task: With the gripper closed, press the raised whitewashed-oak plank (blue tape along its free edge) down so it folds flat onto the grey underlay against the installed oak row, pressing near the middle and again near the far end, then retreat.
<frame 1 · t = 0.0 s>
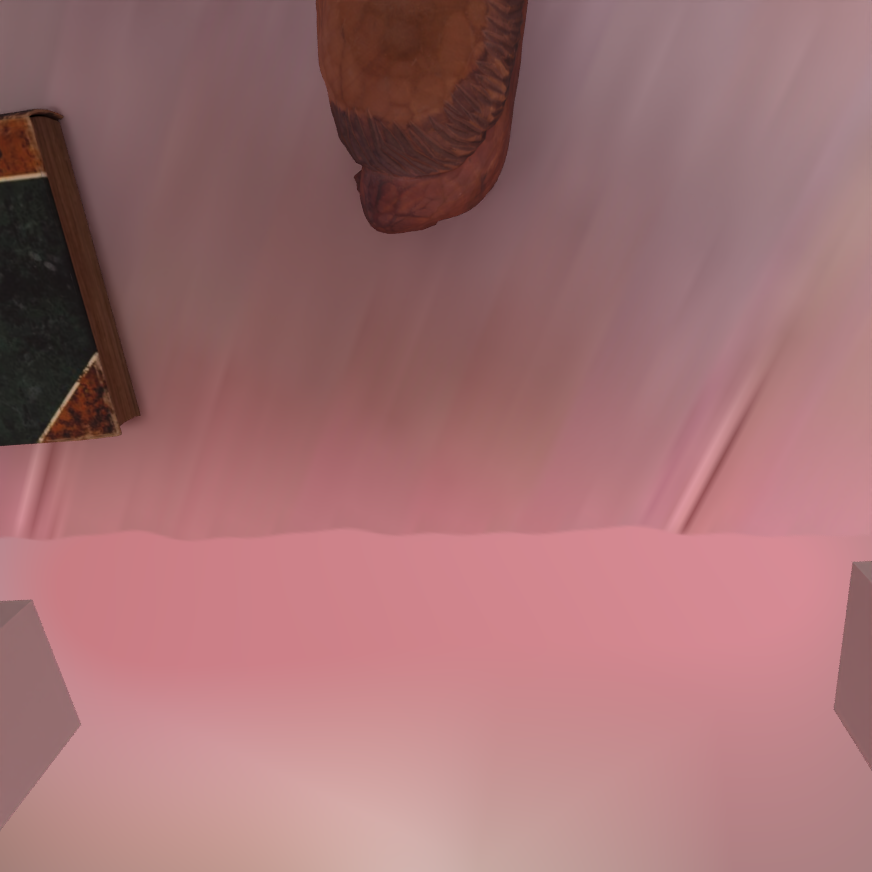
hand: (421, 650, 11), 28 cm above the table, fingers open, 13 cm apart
wooden figurine: (450, 91, 33), on the table
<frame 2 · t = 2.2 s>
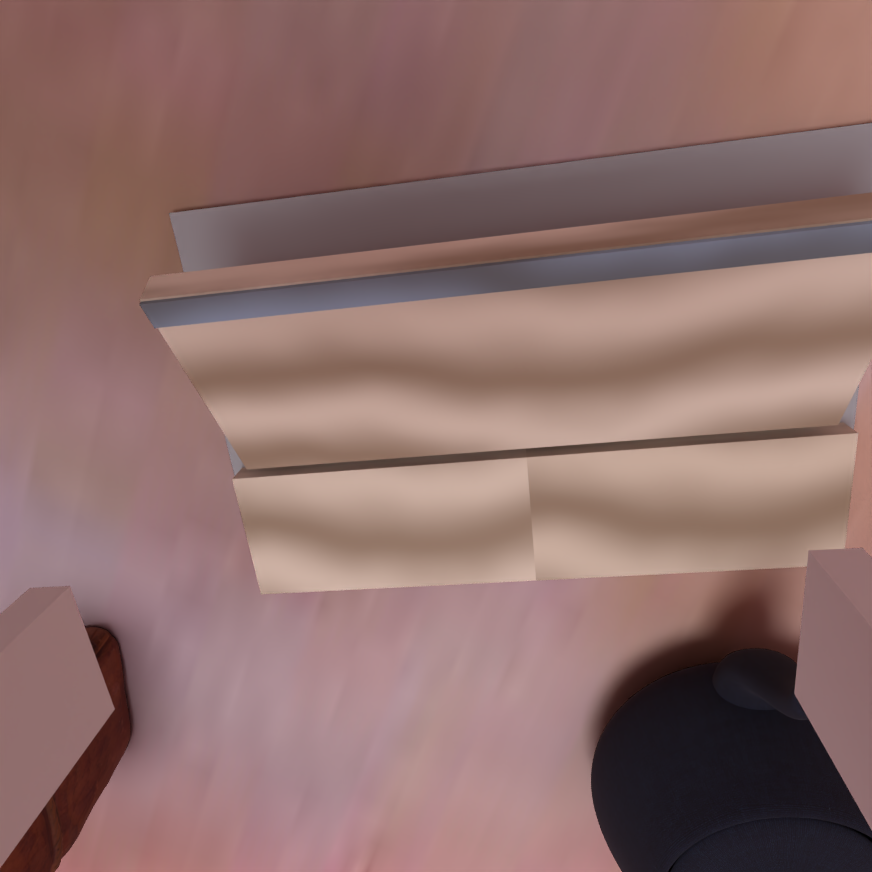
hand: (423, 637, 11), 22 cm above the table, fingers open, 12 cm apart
underlay: (521, 387, 33), on the table
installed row: (530, 504, 35), resting on underlay
plank: (519, 357, 28), point 4 cm above the table, hinge at 30.0°
teapot: (716, 723, 39), on the table
wooden figurine: (91, 690, 43), on the table
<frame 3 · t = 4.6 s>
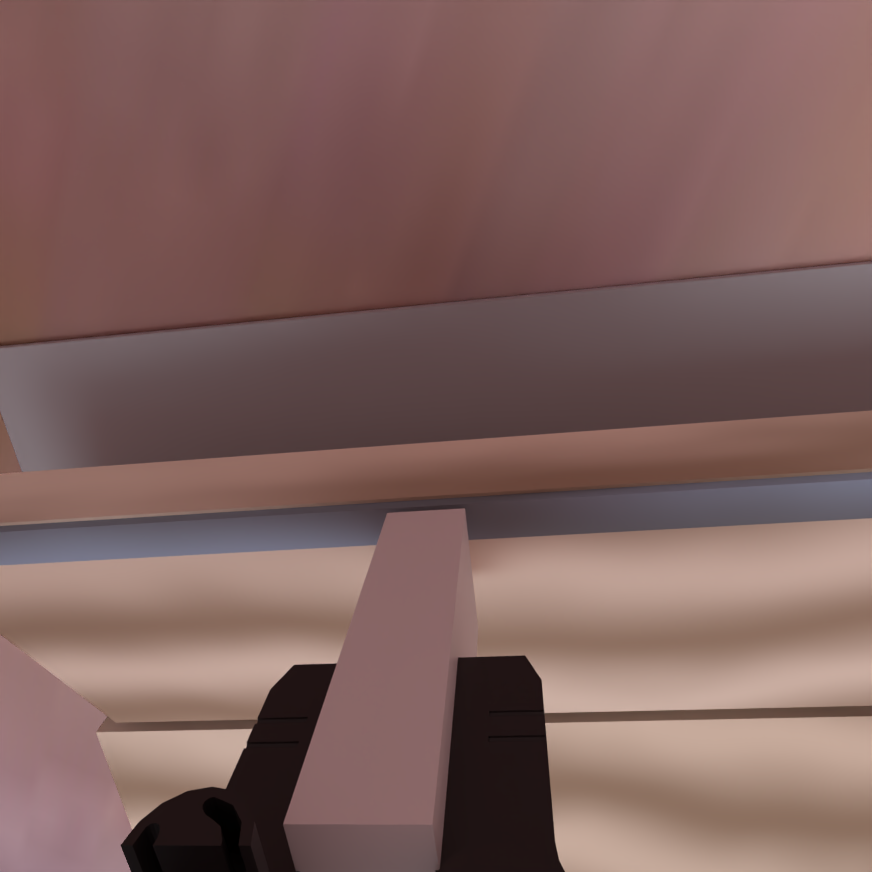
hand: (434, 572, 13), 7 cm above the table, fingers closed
underlay: (532, 607, 21), on the table
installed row: (543, 761, 24), resting on underlay
plank: (533, 605, 17), point 4 cm above the table, hinge at 25.8°, touching gripper
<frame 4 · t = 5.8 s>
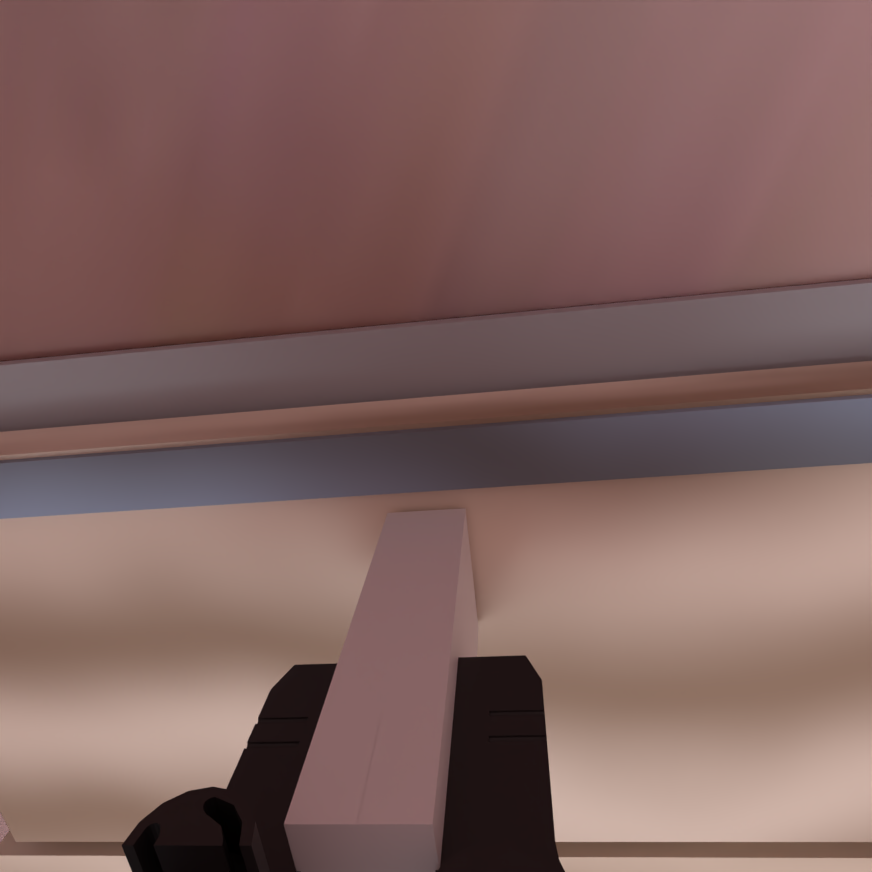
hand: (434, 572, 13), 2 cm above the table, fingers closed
underlay: (538, 705, 17), on the table
plank: (534, 641, 14), point 1 cm above the table, hinge at 1.6°, touching gripper
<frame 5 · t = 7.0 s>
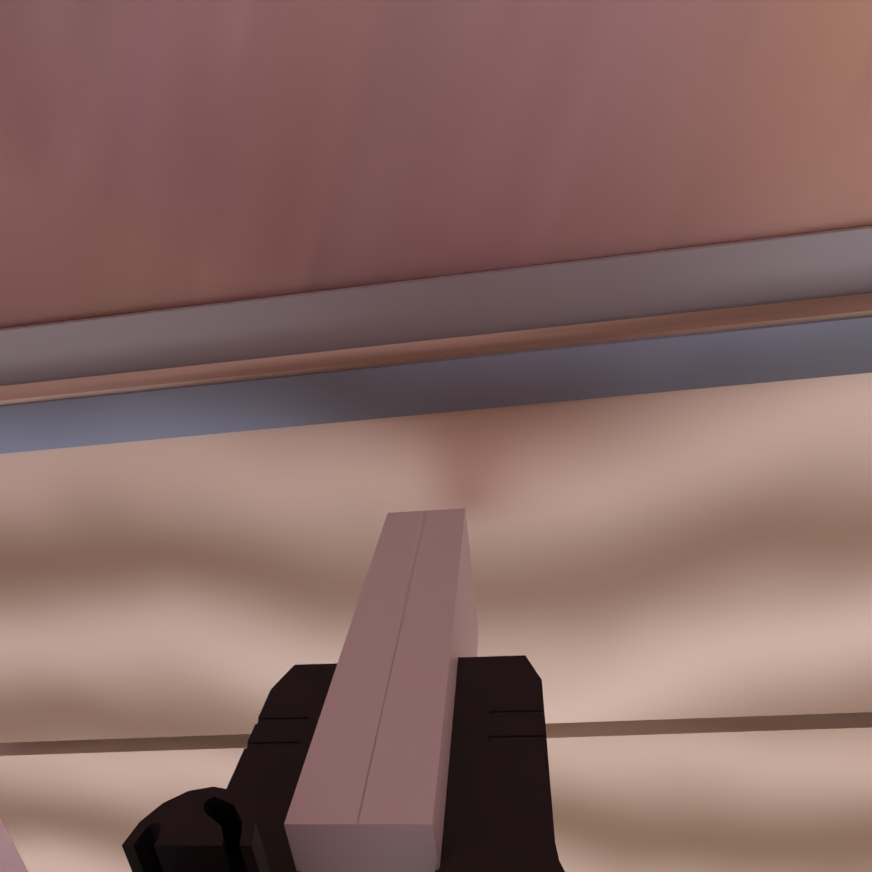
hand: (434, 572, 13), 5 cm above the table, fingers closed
underlay: (425, 618, 20), on the table
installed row: (451, 777, 22), resting on underlay
plank: (405, 554, 18), point 1 cm above the table, hinge at 1.5°
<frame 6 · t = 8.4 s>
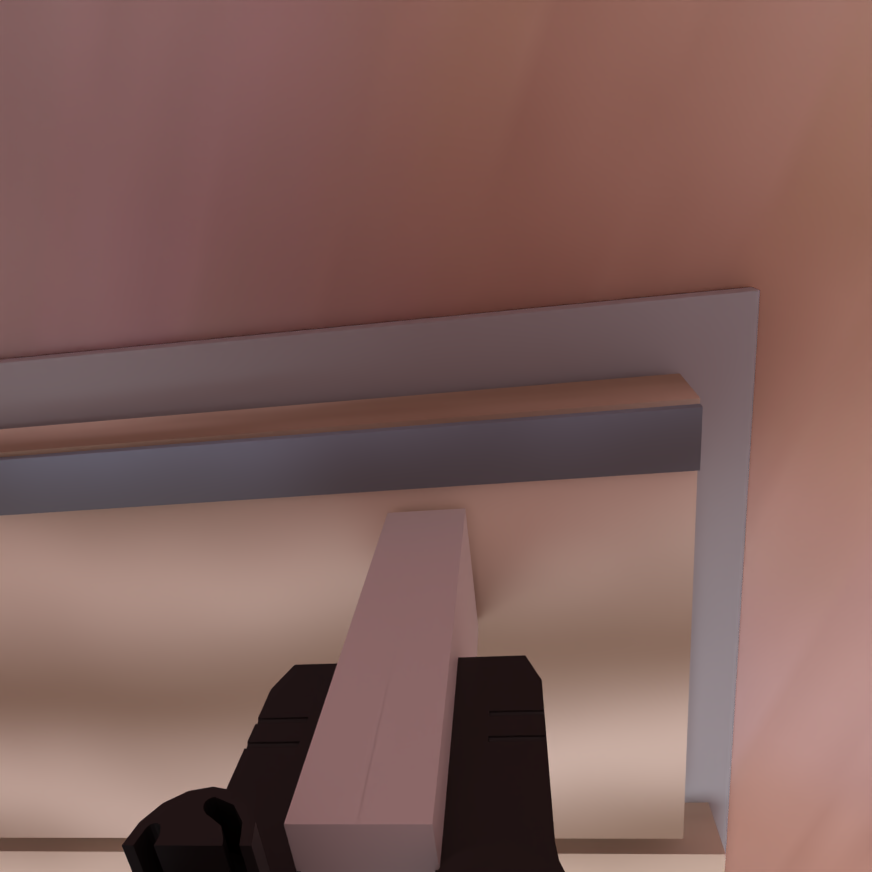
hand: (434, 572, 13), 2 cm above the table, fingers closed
underlay: (137, 712, 18), on the table
plank: (72, 654, 16), point 1 cm above the table, hinge at 1.5°, touching gripper
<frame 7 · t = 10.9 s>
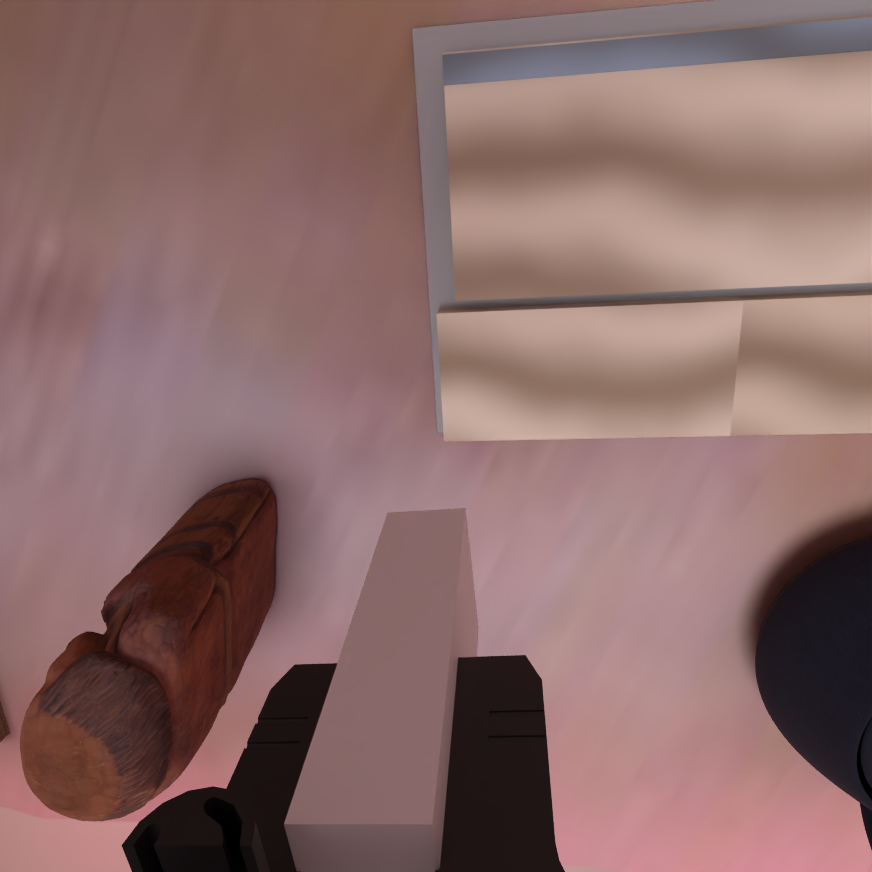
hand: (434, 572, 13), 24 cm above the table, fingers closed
underlay: (737, 233, 33), on the table
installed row: (725, 361, 35), resting on underlay
plank: (754, 164, 30), point 1 cm above the table, hinge at 1.5°
wooden figurine: (237, 550, 43), on the table
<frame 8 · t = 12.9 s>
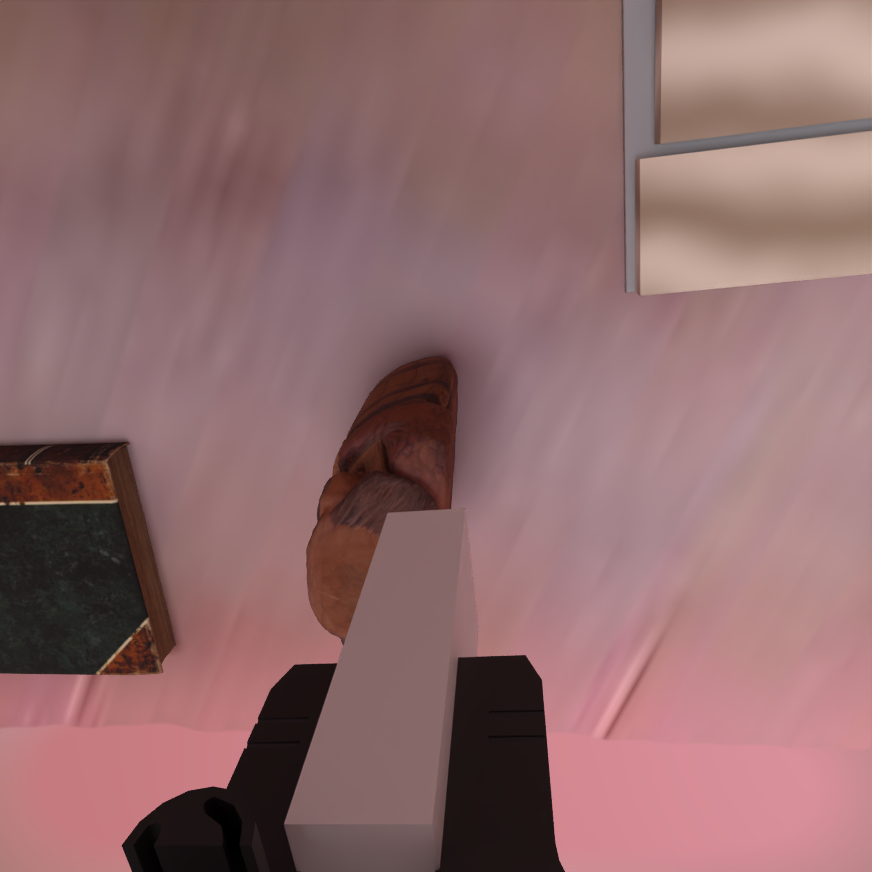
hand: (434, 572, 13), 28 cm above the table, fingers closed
book: (4, 548, 50), on the table
wooden figurine: (412, 435, 43), on the table
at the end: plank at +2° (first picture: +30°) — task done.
